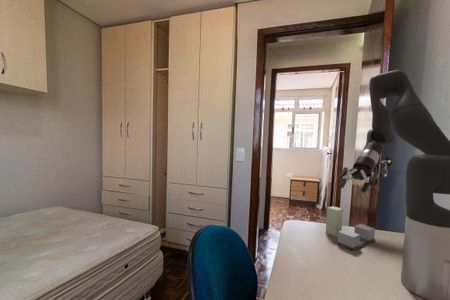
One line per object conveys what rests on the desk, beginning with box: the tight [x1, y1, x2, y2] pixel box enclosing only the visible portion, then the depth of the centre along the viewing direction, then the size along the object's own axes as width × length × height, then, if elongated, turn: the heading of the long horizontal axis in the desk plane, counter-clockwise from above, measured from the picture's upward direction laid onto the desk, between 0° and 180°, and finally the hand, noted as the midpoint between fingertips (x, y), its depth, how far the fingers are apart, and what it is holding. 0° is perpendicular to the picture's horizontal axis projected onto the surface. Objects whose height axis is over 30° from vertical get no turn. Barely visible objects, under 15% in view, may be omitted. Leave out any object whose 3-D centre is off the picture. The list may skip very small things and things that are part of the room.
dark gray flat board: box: [336, 237, 376, 252], centre depth 78 cm, size 6×16×1 cm, turn 124°
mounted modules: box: [337, 223, 376, 248], centre depth 78 cm, size 5×16×4 cm, turn 124°
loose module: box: [325, 205, 344, 238], centre depth 85 cm, size 4×4×10 cm
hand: (351, 189), depth 91 cm, fingers open, 8 cm apart
